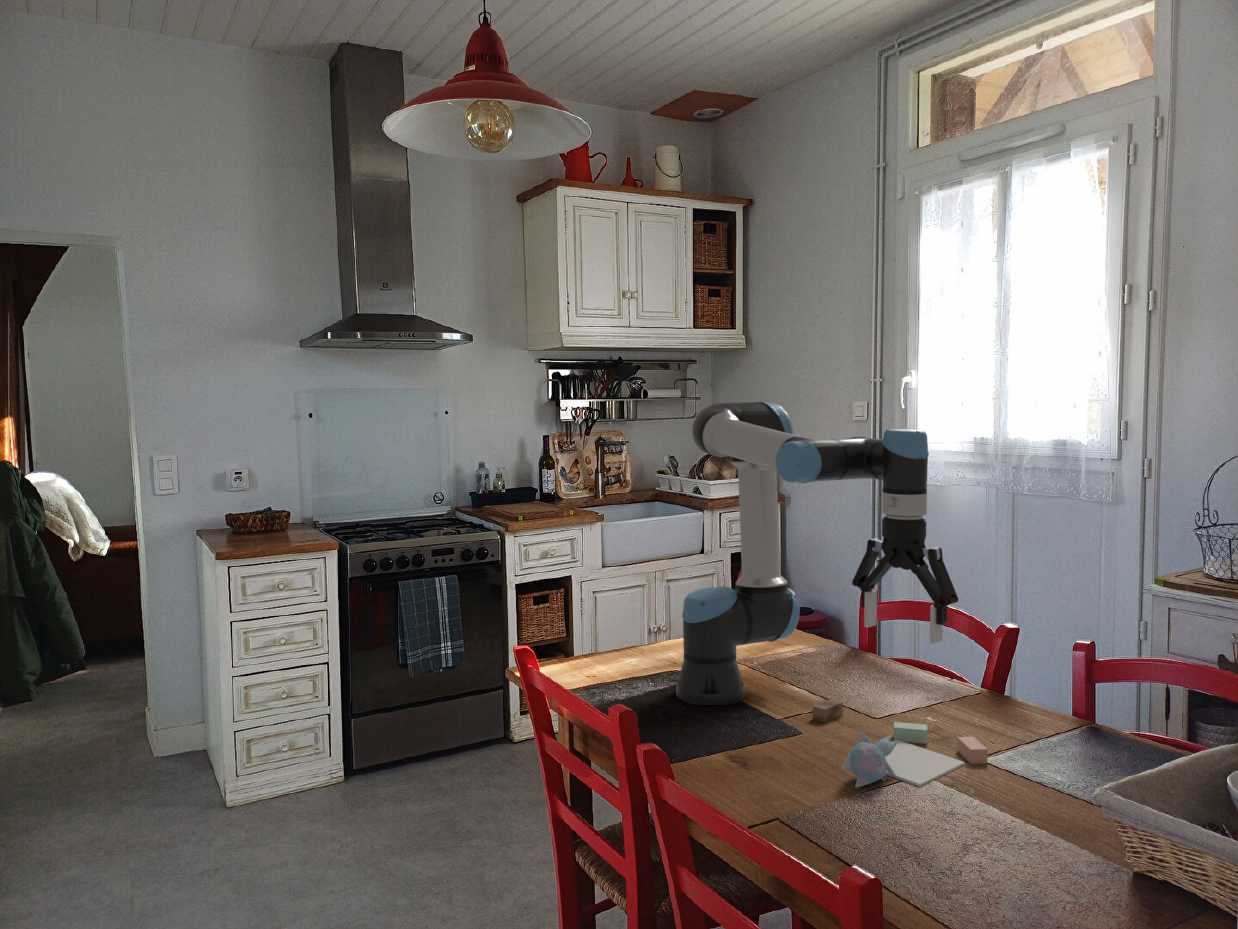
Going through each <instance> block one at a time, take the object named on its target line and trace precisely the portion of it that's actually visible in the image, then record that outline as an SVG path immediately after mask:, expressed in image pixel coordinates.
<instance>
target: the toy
mask: <svg viewBox="0 0 1238 929" xmlns="http://www.w3.org/2000/svg"><path fill="white" fill-rule="evenodd" d="M859 735H860V737H861V738H862V740H863V741H862V742H860V740H859V739H857V741H856V740H854V746H853V747H852V749H851V750H850V751H849V753H848V755H847V756H846V759H845V760H844V763H843V764H842V767H841V770H842V771H847V770H848V771H849V770H851V772H852V773H853V774H854V775H855V776H856V780H855V786H854V788H855V789H859V788H861V787H863V786H867V785H870V784H872V783H875V782H878V780H883V781H887V780H886V778H888V775H886V774H885V773H886V770H887V771H888V772H889V773H890V774H891V775H892V776H895V773H894V771H893V770H892V768H891V767H890V766H889V764H888V763H887V762H886V758H885V757H886V756H888V755H889V754H891V752H892V751H893V749H894V747H895V746H896V745H897V743H898V742H897V741H895V742H893V743H891V742H892V741H891V739H892V738H894V735H892V734H889V735H887V736H886V737H883V738H881V739H879V740H878V741H877V742H876V743H875V744H874V743H873V742H872V741H871V740H870V738H869V737H867V735H866V734H865V733H864V732H862V731H860V732H859ZM884 777H885V778H884Z"/></svg>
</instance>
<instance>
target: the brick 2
mask: <svg viewBox="0 0 1238 929" xmlns="http://www.w3.org/2000/svg"><path fill="white" fill-rule="evenodd" d="M928 734H929V732H928V724H923V723H912V722H900V721H894V722H893V741H894V740H900V741H903V742H906V743H910V744H911V743H913V744H927V745H928V741H929V740H928V737H929V736H928Z"/></svg>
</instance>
